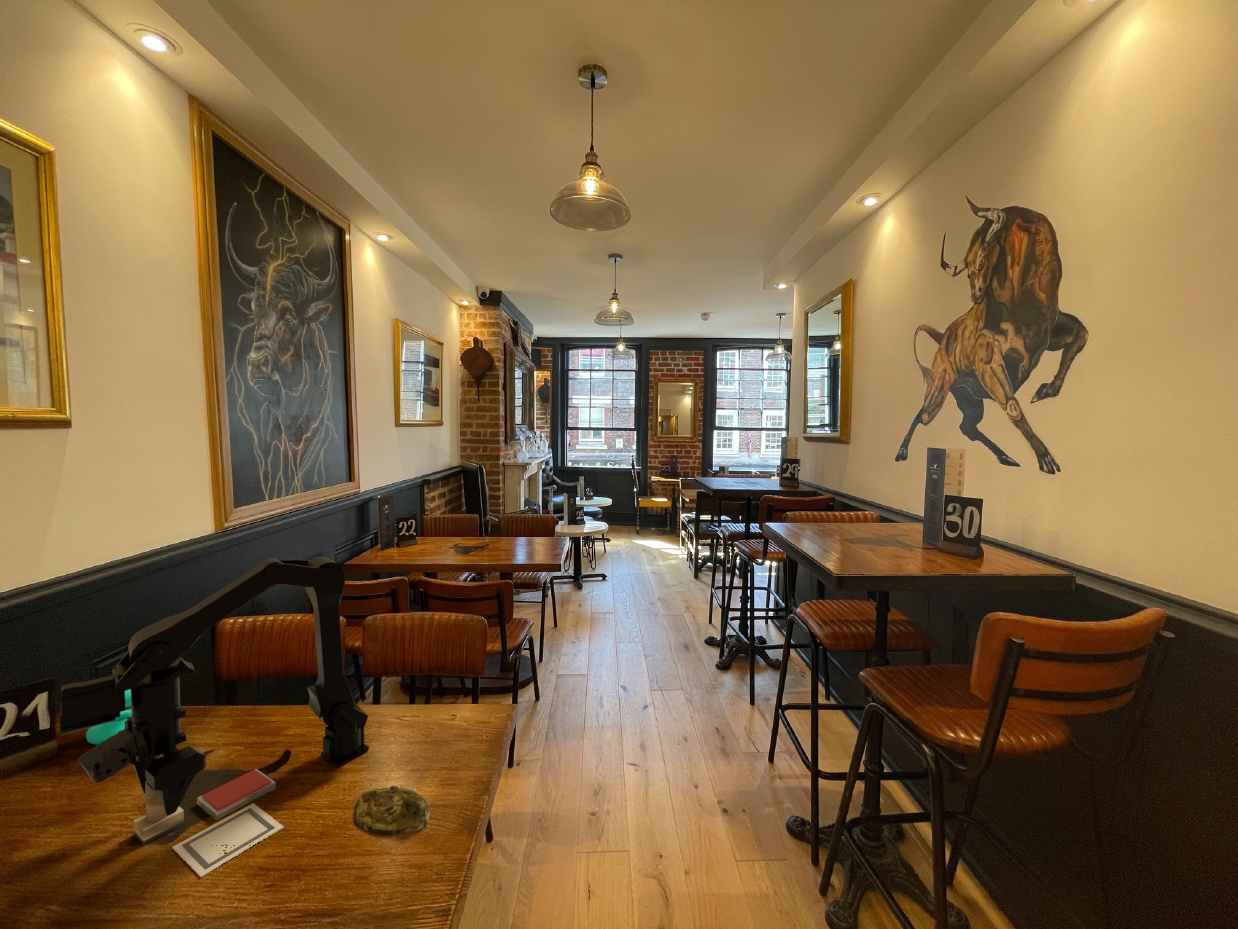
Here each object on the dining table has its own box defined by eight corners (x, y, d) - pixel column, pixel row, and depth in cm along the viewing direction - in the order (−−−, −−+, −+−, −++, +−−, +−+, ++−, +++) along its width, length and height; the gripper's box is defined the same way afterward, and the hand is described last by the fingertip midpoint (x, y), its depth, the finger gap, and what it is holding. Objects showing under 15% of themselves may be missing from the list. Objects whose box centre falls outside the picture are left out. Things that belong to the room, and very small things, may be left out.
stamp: (174, 814, 85) (172, 766, 84) (184, 824, 83) (182, 775, 82) (134, 834, 80) (132, 783, 80) (143, 845, 78) (142, 793, 78)
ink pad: (256, 775, 95) (256, 767, 95) (275, 788, 91) (275, 780, 91) (197, 804, 87) (197, 796, 87) (216, 820, 83) (215, 811, 83)
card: (253, 804, 87) (253, 802, 87) (283, 828, 82) (283, 826, 82) (172, 848, 78) (172, 846, 78) (201, 878, 73) (201, 876, 73)
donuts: (76, 691, 104) (139, 672, 113) (77, 739, 105) (140, 716, 114) (96, 704, 100) (160, 683, 109) (97, 753, 100) (161, 728, 109)
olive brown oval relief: (336, 826, 84) (407, 852, 79) (333, 800, 84) (404, 825, 78) (380, 784, 93) (447, 806, 88) (378, 761, 92) (445, 781, 87)
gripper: (64, 714, 78) (69, 811, 79) (106, 754, 69) (110, 864, 70) (158, 684, 88) (161, 771, 89) (206, 716, 78) (208, 813, 79)
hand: (159, 802), depth 81 cm, fingers open, 9 cm apart
